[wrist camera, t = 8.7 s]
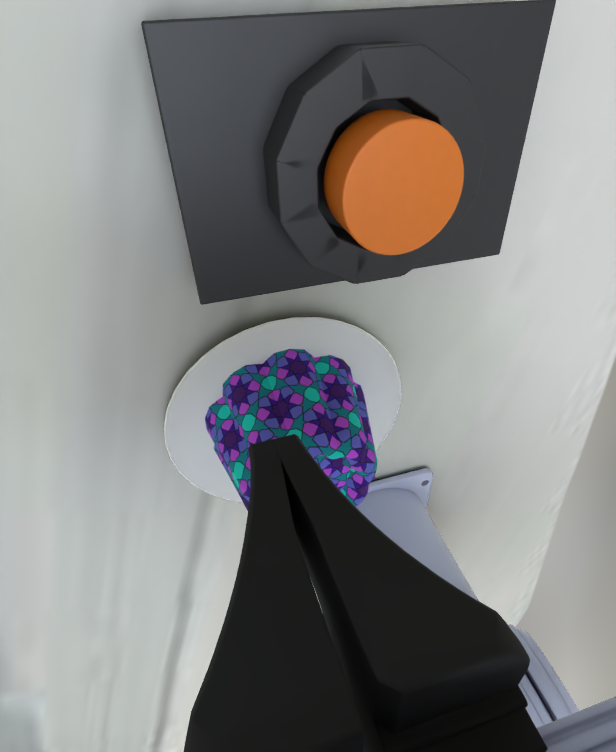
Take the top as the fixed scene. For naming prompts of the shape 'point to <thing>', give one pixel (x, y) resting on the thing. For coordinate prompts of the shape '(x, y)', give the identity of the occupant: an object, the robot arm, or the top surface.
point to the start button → (393, 180)
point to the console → (335, 130)
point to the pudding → (285, 404)
